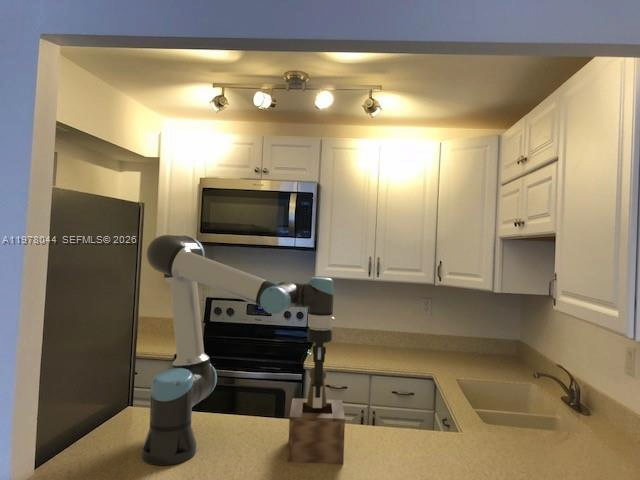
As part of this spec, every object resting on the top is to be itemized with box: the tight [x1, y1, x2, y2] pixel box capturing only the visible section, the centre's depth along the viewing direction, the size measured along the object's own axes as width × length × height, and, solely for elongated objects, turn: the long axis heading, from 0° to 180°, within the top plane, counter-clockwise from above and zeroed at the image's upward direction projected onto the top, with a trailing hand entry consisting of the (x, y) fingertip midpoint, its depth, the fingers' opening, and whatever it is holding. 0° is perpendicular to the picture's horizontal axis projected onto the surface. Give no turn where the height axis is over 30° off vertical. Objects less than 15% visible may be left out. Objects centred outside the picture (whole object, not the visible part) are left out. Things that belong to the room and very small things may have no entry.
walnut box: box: [287, 397, 346, 465], centre depth 139 cm, size 16×16×13 cm
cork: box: [307, 367, 327, 407], centre depth 139 cm, size 6×6×11 cm
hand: (317, 403), depth 139 cm, fingers closed on cork, 6 cm apart
